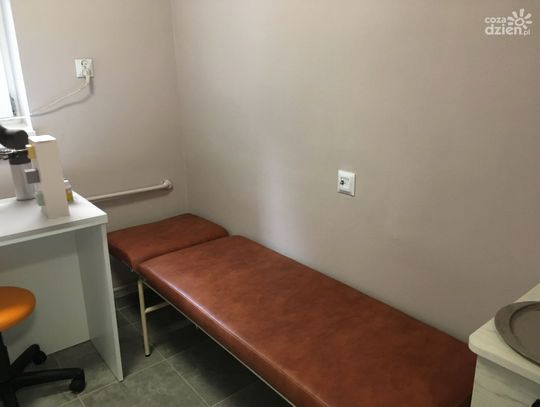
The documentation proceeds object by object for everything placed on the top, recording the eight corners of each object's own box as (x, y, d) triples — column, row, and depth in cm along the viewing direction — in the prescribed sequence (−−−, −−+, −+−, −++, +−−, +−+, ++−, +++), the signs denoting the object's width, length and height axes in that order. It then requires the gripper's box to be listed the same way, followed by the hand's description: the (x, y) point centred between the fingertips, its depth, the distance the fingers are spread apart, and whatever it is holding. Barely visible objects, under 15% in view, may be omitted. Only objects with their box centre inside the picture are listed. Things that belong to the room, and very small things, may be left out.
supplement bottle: (58, 202, 204) (54, 182, 201) (67, 199, 209) (64, 179, 206) (67, 203, 202) (63, 182, 199) (76, 200, 207) (72, 180, 204)
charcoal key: (25, 181, 183) (23, 169, 181) (42, 178, 186) (40, 167, 185) (28, 184, 178) (25, 172, 177) (45, 181, 182) (43, 169, 180)
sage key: (36, 203, 187) (34, 192, 186) (53, 200, 191) (51, 189, 189) (39, 206, 182) (36, 194, 181) (56, 203, 186) (53, 191, 185)
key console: (41, 209, 194) (27, 137, 185) (60, 205, 199) (48, 135, 189) (49, 218, 180) (34, 141, 171) (69, 214, 185) (56, 139, 175)
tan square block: (27, 157, 181) (25, 145, 180) (44, 155, 185) (42, 143, 184) (30, 159, 177) (27, 146, 175) (47, 156, 180) (45, 144, 179)
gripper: (-24, 150, 163) (28, 144, 172) (-26, 146, 173) (23, 141, 182) (-20, 170, 165) (32, 163, 174) (-22, 164, 175) (27, 159, 185)
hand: (27, 152), depth 178 cm, fingers closed
